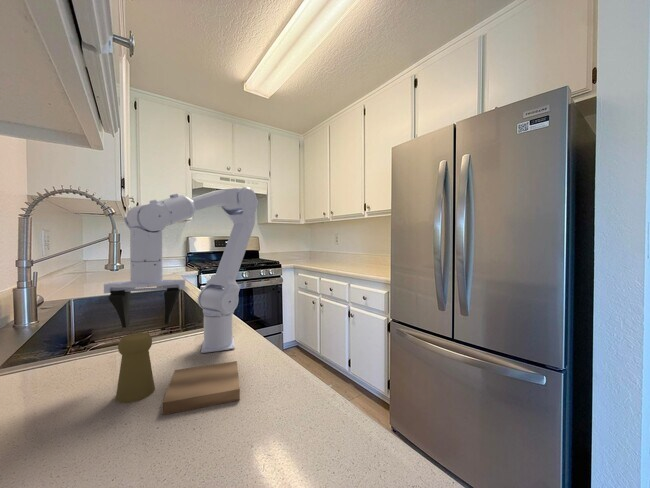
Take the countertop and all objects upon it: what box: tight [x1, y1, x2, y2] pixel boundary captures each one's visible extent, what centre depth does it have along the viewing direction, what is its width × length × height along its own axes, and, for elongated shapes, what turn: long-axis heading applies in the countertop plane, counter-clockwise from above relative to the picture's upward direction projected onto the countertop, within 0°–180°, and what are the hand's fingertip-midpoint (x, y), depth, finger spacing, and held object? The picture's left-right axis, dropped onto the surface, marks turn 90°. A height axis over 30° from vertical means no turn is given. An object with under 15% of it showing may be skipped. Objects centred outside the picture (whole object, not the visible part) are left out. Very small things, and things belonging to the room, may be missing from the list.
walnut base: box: [162, 360, 241, 416], centre depth 52 cm, size 12×12×2 cm
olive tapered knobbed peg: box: [115, 331, 156, 404], centre depth 51 cm, size 6×6×11 cm
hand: (147, 324), depth 58 cm, fingers open, 7 cm apart
